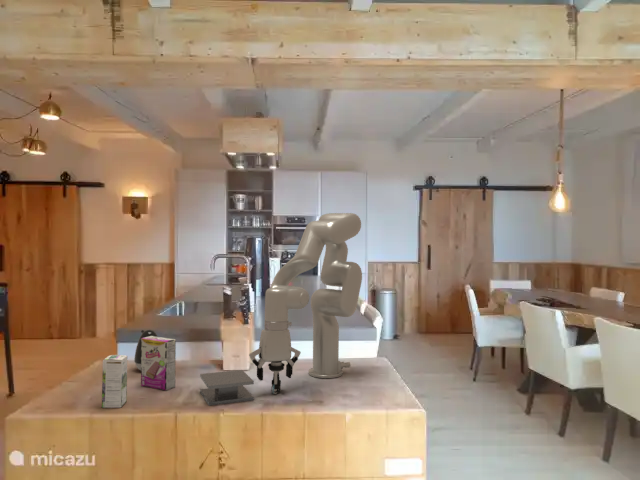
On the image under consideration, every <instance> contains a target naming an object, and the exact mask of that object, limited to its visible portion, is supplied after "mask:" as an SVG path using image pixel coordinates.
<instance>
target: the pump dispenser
mask: <svg viewBox="0 0 640 480" xmlns="http://www.w3.org/2000/svg"><path fill="white" fill-rule="evenodd" d="M148 336H155V337H159V336H158V334H157V332H155V331H154V330H152V329H146V330H143V329H141V335H140V336H139V338H138V341H137V344H136V347H135V354H134V360H133V361H134V362H133V363H135V366H136V368H137V370H139V371H140V372H141V338H144V337H148Z"/></svg>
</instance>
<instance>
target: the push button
mask: <svg viewBox="0 0 640 480" xmlns="http://www.w3.org/2000/svg"><path fill="white" fill-rule="evenodd" d="M285 367H286V365H285V363H283V361H274V362H269V363H268V369H269V370H270V371H271V372H273V377H272V380H271V389H270V390H271V392H272V394H273V395H278V394H279V392H281V391H282V387H281V386H282V385H281V384H282V380H281V379H280V377H281V376H280V372H282V371H283V370H284V369H285Z"/></svg>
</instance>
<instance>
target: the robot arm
mask: <svg viewBox="0 0 640 480" xmlns="http://www.w3.org/2000/svg"><path fill="white" fill-rule="evenodd" d="M361 228H362V221H361V218H360V216H359V215H357V214H356V213H352V212H346V213H345V212H342V213H341V212H340V213H339V212H338V213H337V212H334V213H331V212H329V213H325V214H322V215H321V216H320V217H319V218H318V220H312V221H310V222H309V223H308V224H306V226H305V229H304V231H303V234H302V236H301V240H300V241H299V244H298V247H297V249H296V252H295V253H294V256H293V257H292V258H291V259H290V260H288V261H287V262H286V263H285V264H283V266H282V267H281V268H280V269H279V270H278V271H277V273H276V274H275V276H274V278H273V281H272V283H271V286H270V287H269V288H267V289H266V290H265V295H264V296H265V297H264V298H265V302H264V305H265V306H264V329H262V330H261V333H260V336H259V344H258V348H257V349H255V350H253V351H252V352H250V353H249V354H248V356H249V358H250V360H251V362H252V363H253V365H255V367H256V377H257V379H258V380H259V381H264V367H263V366H264V365H265V364H266V363H271V362H274V361H282V362H284V361H285V362H287V363H286V365H285V376H286V377H287V378H288V379H292V375H293V369H294V365H295V363H296V362H297V361H298V359H299V357H300V356H301V351H300V350H298V349H296V348H294V347H292V341H291V340H292V339H291V332H290V330H289V327H291V326H293V325H292V324H293V323H292V321H289V310H302V309H304V308H305V307H306V306H308V304H309V301H310V307H311V312H312V325H313V326H312V368H311V367H310V369H308V375H309V376H310V377H313V378H316V379H317V378H318V379H319V378H320V379H334V378H335V379H336V378H338V377H341V376H342V375H343V369H346V368H347V369H348V368H351V365H352V364H351V362H350V361H348V362H344V361H340V360H339V353H340V352H339V350H340V349H339V348H340V347H339V346H340V345H339V344H340V343H339V340H340V339H339V338H340V337H339V336H340V326H339V321H338V319H337V318H336V317H340V318H341V317H342V318H349V317H351V316H353V315H354V313H355V312H356V310H357V306H358V301H359V297H360V291H361V287H362V281H363V271H362V268H361V266H360V265H359V264H358V263H357V262H354V261H347V259H348V255H349V248H348V245H347V241H348V240H350V239H352V238H354V237H356V236H357V235H358V234H359V233H360V231H361ZM324 248H325V253H324V257H323V262H322V266H321V270H320V281H321V284H323V285H326V286H328V287H329V286H330V287H337V288H338V287H339V288H341V289H336V288H335V289H334V288H319V289H316V290H315V291H314V292H313V293H312V295H311V297H310V293H309V292H308V290H306V289H305V288H303V287H301V286H293V285H289V284H290V283H291V282H292V280H293V279H294V278H296V277H298V275H300V274H302V273H305V272H308V271H310V270H312V269H315V267H317V265H319V261H320V258H321V254H322V252H323V250H324ZM292 353H294V355H293V356H292ZM256 356H258V358H259V359H258V360H257V359H256Z"/></svg>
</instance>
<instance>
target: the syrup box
mask: <svg viewBox="0 0 640 480" xmlns="http://www.w3.org/2000/svg"><path fill="white" fill-rule="evenodd" d="M101 380H102V381H101V382H102V383H101V384H102V385H101V408H102V409H113V408H114V409H116V408H122V407H123V406H124V405H125V404H126V403H127V399H128V392H127V391H128V355H125V354H111V355H108V356H106V357H105V358H103V360H102V377H101Z"/></svg>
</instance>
